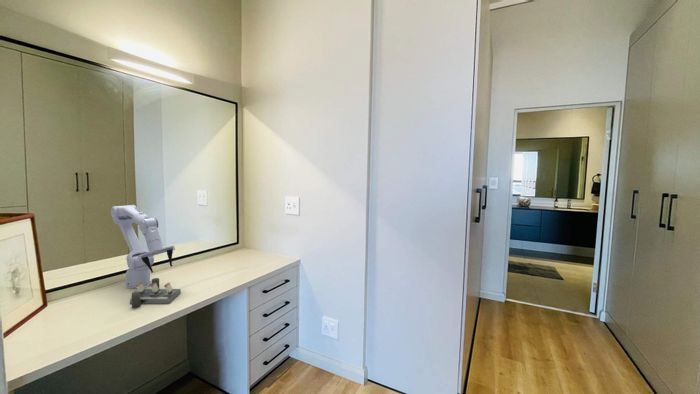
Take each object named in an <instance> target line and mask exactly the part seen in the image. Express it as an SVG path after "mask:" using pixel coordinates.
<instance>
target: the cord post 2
mask: <svg viewBox="0 0 700 394" xmlns="http://www.w3.org/2000/svg"><path fill="white" fill-rule="evenodd" d="M151 281H152V284H153V283H155V282H156V284H157V286H158V288H159V289H160V278H159V277H156V278H152V279H151Z"/></svg>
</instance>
